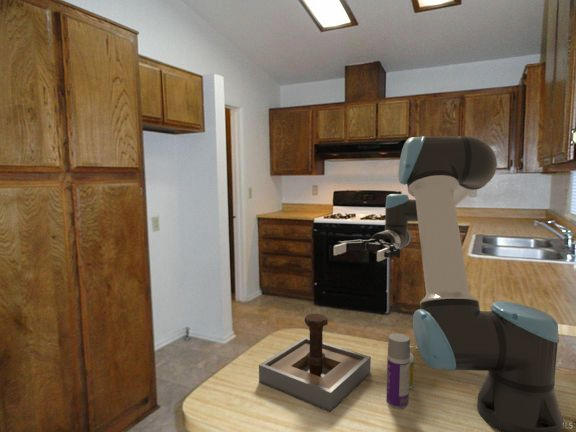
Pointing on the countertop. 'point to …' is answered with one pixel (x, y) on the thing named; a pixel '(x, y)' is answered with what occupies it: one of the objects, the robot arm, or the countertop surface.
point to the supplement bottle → (411, 369)
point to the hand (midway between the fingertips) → (355, 253)
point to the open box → (312, 391)
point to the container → (398, 370)
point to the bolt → (316, 342)
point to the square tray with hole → (334, 362)
